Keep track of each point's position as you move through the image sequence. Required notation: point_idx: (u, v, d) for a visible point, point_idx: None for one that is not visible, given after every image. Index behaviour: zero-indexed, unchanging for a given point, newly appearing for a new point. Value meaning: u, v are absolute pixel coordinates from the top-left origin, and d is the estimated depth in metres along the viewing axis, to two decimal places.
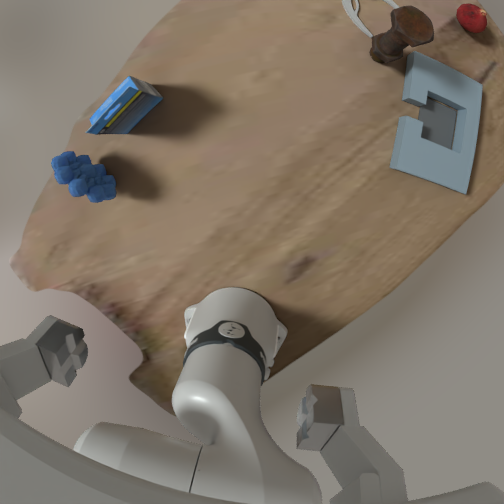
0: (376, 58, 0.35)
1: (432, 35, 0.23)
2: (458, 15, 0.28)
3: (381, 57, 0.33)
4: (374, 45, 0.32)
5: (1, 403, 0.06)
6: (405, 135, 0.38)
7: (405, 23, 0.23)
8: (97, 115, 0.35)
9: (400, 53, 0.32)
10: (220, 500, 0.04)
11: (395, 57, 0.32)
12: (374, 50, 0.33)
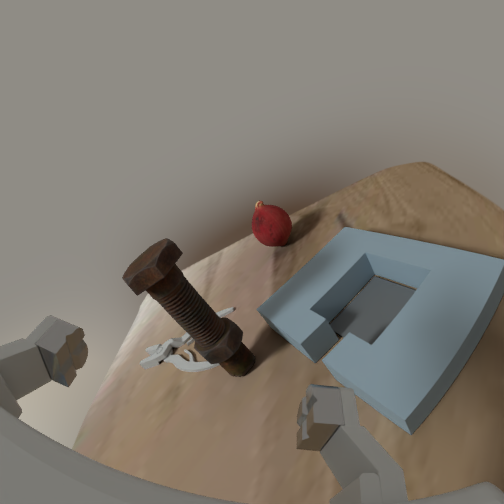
0: (235, 368, 0.28)
1: (167, 241, 0.24)
2: (262, 240, 0.44)
3: (221, 356, 0.26)
4: None
5: (1, 403, 0.06)
6: (350, 376, 0.18)
7: (133, 269, 0.23)
8: None
9: (229, 324, 0.27)
10: (220, 500, 0.04)
11: (227, 333, 0.26)
12: (206, 359, 0.26)
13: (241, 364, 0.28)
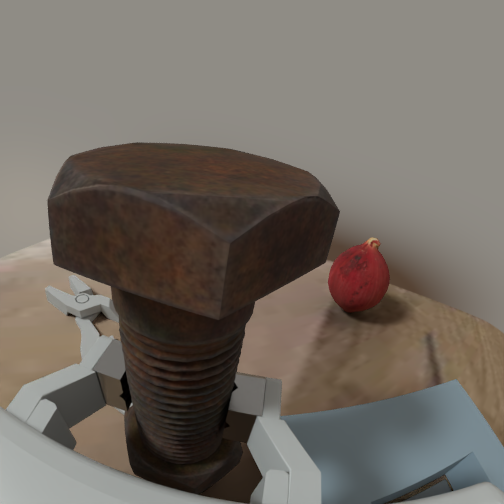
0: None
1: (321, 185, 0.06)
2: (336, 288, 0.26)
3: (167, 485, 0.08)
4: None
5: (58, 438, 0.06)
6: None
7: (125, 162, 0.05)
8: None
9: (229, 443, 0.10)
10: (220, 500, 0.04)
11: (214, 466, 0.09)
12: None
13: None
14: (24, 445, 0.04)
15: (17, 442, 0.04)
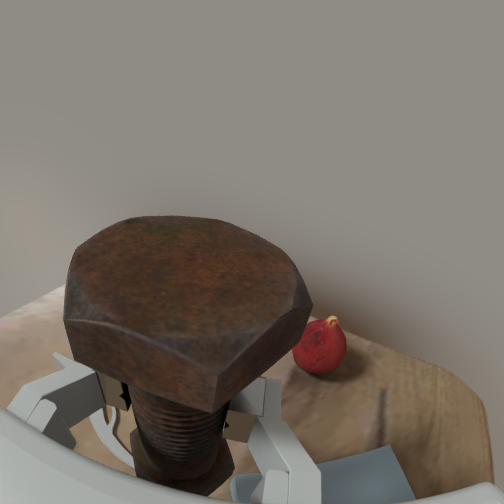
0: None
1: (298, 280, 0.07)
2: (297, 357, 0.30)
3: None
4: None
5: (58, 438, 0.06)
6: None
7: (123, 272, 0.06)
8: None
9: (223, 461, 0.11)
10: (220, 500, 0.04)
11: (210, 481, 0.10)
12: None
13: None
14: (24, 445, 0.04)
15: (17, 442, 0.04)
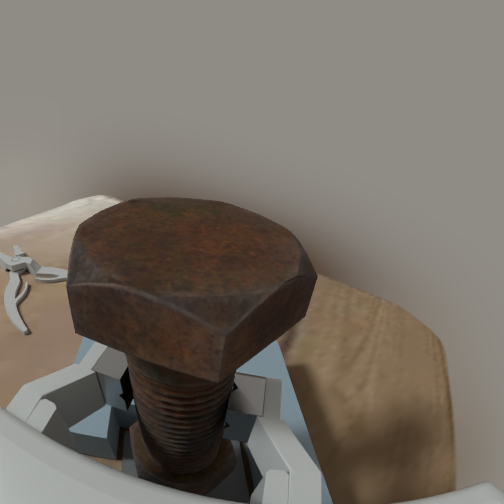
0: None
1: (301, 252, 0.07)
2: None
3: None
4: None
5: (57, 438, 0.06)
6: None
7: (128, 241, 0.06)
8: None
9: (225, 454, 0.10)
10: (220, 500, 0.04)
11: (212, 475, 0.09)
12: None
13: None
14: (24, 445, 0.04)
15: (17, 442, 0.04)
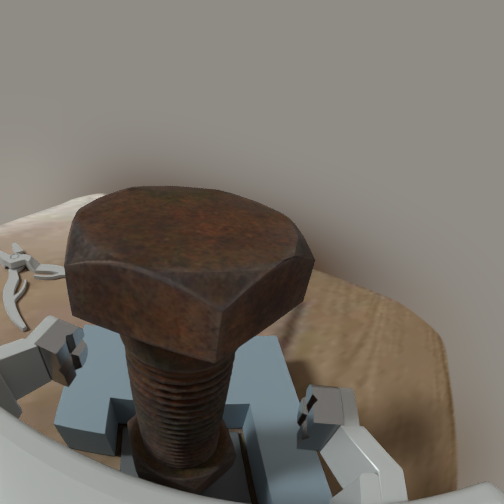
0: None
1: (299, 235, 0.07)
2: None
3: None
4: None
5: (1, 403, 0.06)
6: None
7: (127, 223, 0.06)
8: None
9: (224, 448, 0.10)
10: (220, 500, 0.04)
11: (211, 469, 0.09)
12: None
13: None
14: (24, 445, 0.04)
15: (17, 442, 0.04)
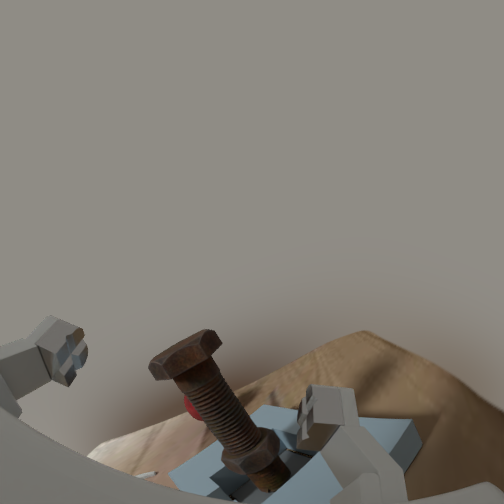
0: (271, 481, 0.19)
1: (206, 329, 0.22)
2: (193, 415, 0.39)
3: (260, 463, 0.18)
4: (232, 464, 0.19)
5: (1, 403, 0.06)
6: None
7: (166, 353, 0.20)
8: None
9: (265, 430, 0.21)
10: (220, 500, 0.04)
11: (265, 438, 0.20)
12: (240, 468, 0.18)
13: (278, 476, 0.19)
14: (24, 445, 0.04)
15: (17, 442, 0.04)
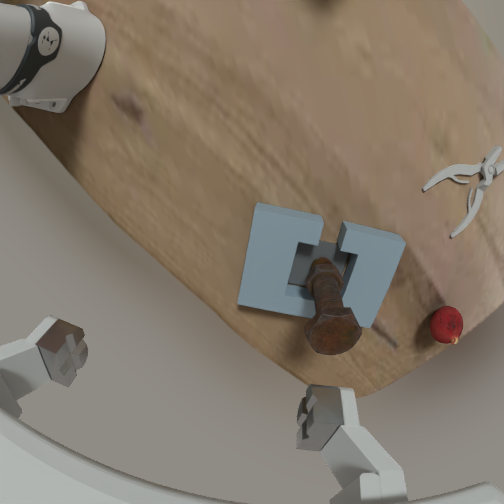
0: (313, 265, 0.40)
1: (321, 353, 0.29)
2: (449, 308, 0.39)
3: (309, 274, 0.37)
4: (323, 268, 0.36)
5: (1, 403, 0.06)
6: (298, 220, 0.36)
7: (330, 326, 0.27)
8: None
9: None
10: (220, 500, 0.04)
11: (310, 291, 0.37)
12: (317, 267, 0.36)
13: None
14: (24, 445, 0.04)
15: (17, 442, 0.04)
